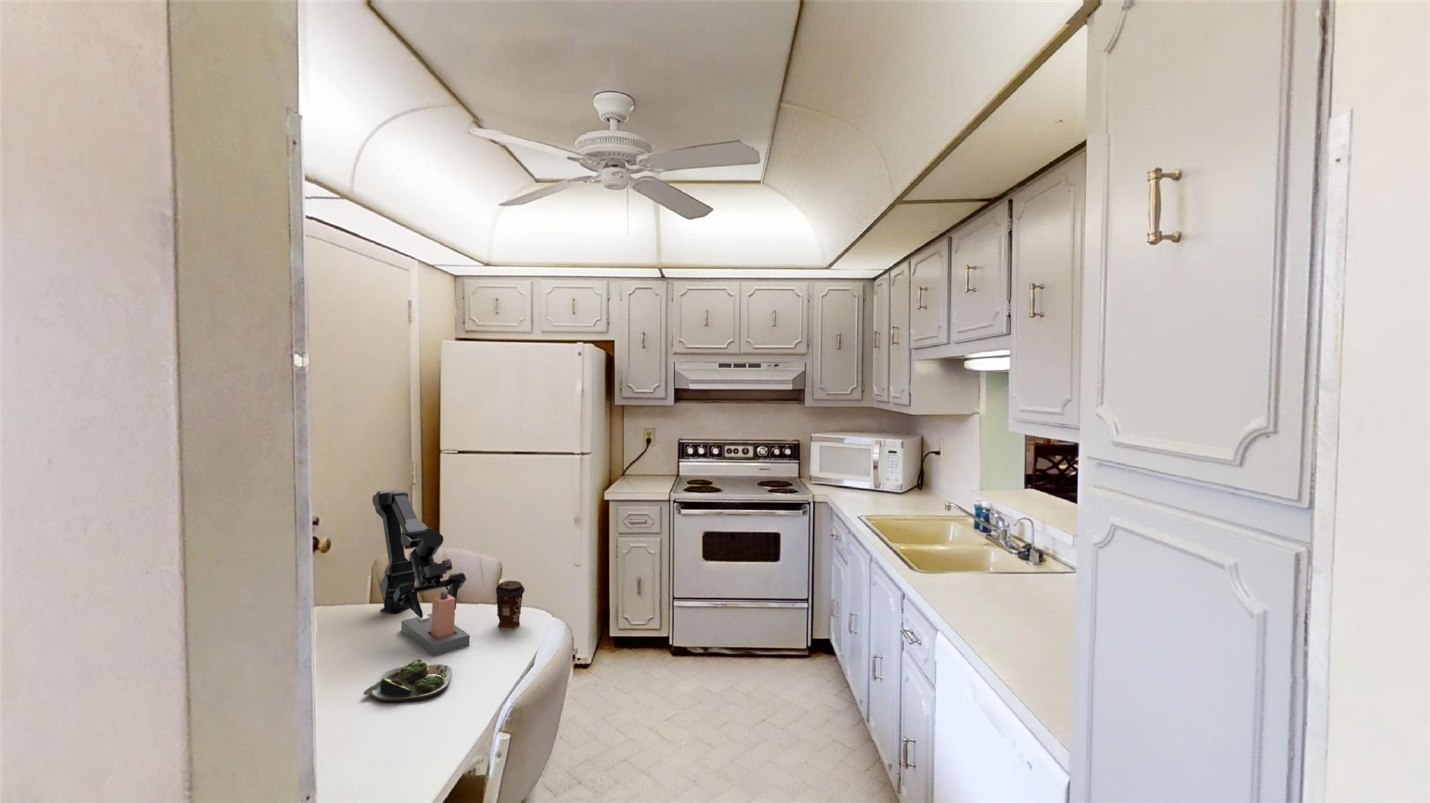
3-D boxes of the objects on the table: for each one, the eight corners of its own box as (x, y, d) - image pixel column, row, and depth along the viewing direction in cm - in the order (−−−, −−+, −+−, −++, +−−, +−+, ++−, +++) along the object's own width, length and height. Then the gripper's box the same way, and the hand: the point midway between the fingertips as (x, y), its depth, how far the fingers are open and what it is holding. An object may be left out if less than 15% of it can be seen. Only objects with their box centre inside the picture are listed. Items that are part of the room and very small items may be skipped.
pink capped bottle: (430, 643, 166) (432, 592, 165) (446, 639, 169) (448, 589, 169) (437, 648, 163) (439, 596, 162) (453, 643, 166) (455, 593, 166)
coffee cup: (487, 628, 177) (489, 585, 177) (504, 618, 185) (506, 577, 185) (512, 633, 175) (513, 590, 175) (528, 623, 183) (530, 581, 182)
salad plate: (384, 667, 151) (385, 650, 151) (458, 663, 156) (459, 646, 156) (357, 707, 133) (358, 687, 133) (443, 701, 137) (443, 682, 137)
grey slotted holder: (401, 630, 173) (401, 617, 173) (435, 621, 180) (436, 609, 180) (432, 656, 158) (433, 642, 158) (469, 645, 166) (469, 632, 166)
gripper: (399, 556, 164) (413, 607, 157) (465, 545, 178) (480, 592, 171) (387, 577, 169) (400, 627, 162) (452, 565, 183) (466, 610, 176)
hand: (438, 613), depth 168 cm, fingers open, 9 cm apart
